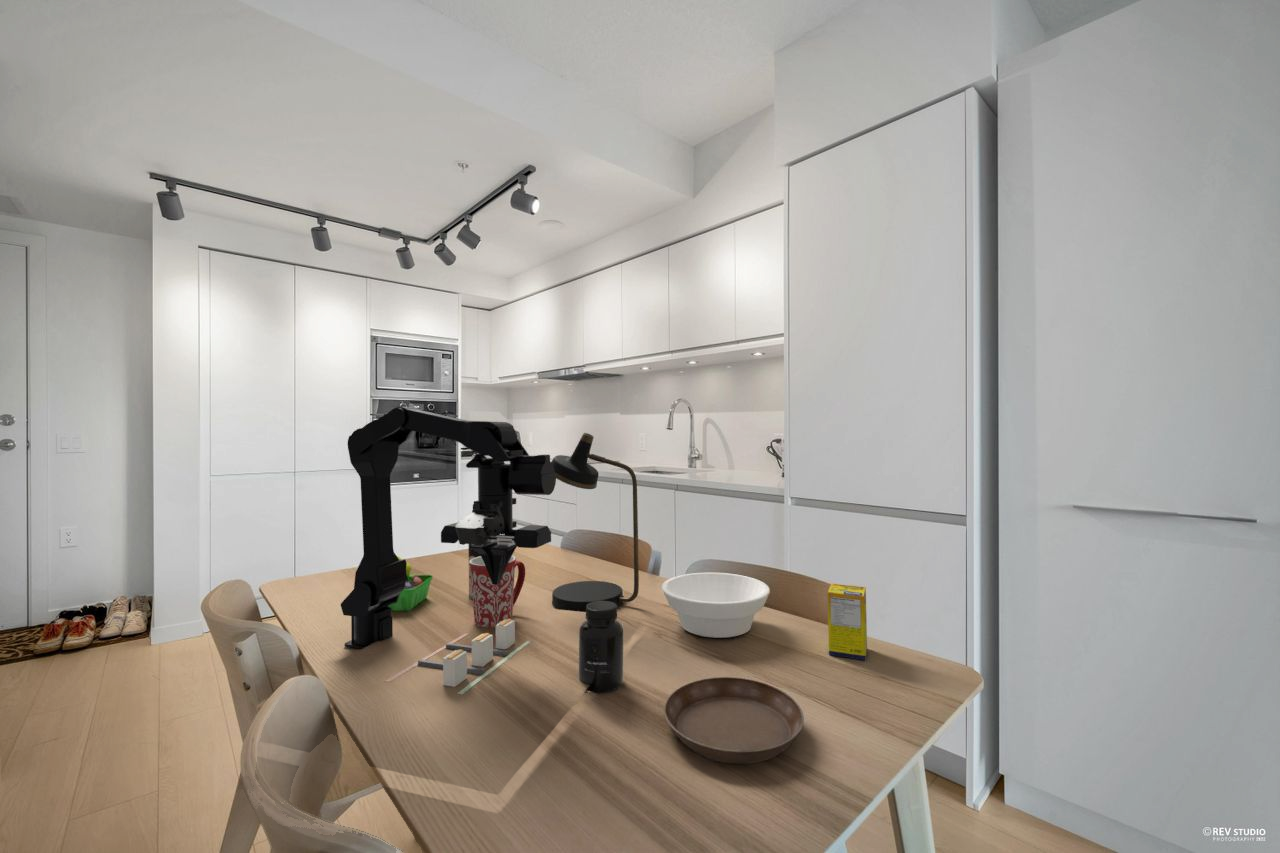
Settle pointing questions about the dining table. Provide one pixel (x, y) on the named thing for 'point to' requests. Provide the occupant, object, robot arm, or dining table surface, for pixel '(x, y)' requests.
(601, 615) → the supplement bottle
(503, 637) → the block
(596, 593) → the lamp
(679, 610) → the bowl
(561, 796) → the dining table surface
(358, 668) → the dining table surface
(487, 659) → the block
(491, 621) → the mug
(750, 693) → the plant saucer
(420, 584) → the fruit basket
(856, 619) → the supplement box
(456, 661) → the block
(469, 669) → the panel
